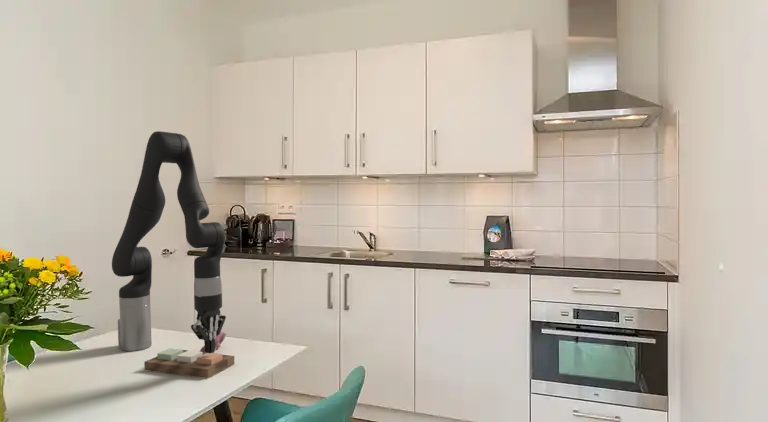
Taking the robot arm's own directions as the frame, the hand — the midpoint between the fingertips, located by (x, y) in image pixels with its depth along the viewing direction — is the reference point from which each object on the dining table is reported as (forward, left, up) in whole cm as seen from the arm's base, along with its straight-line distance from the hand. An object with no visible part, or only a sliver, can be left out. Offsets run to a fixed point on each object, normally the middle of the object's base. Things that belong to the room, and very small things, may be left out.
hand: (210, 352), depth 147 cm
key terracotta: (0, 0, -3) cm, 4 cm away
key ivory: (-7, 0, -4) cm, 8 cm away
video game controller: (-11, +16, -5) cm, 20 cm away
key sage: (-14, 0, -3) cm, 15 cm away
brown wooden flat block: (-7, 0, -5) cm, 9 cm away
